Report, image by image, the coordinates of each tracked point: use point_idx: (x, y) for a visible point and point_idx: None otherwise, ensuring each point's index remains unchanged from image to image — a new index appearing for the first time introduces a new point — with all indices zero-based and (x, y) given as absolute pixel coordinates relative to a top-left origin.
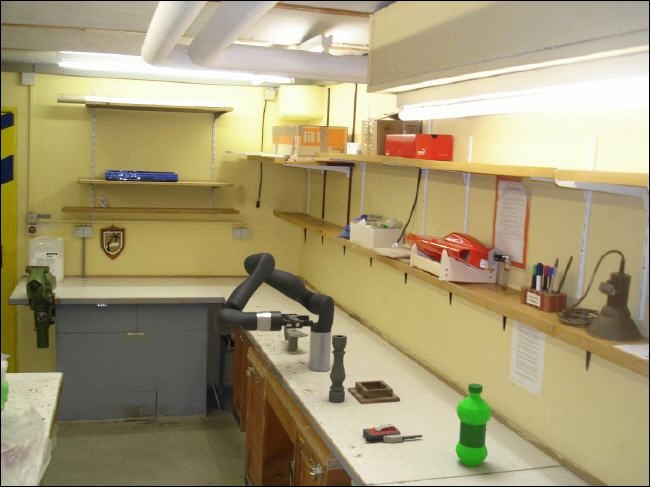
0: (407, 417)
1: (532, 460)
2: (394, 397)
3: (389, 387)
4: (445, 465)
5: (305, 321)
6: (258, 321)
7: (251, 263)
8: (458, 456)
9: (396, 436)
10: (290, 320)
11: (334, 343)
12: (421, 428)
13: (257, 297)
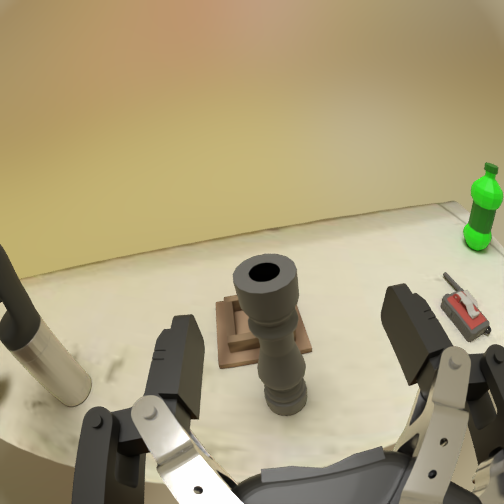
0: (369, 288)
1: (440, 213)
2: None
3: None
4: (492, 262)
5: (434, 336)
6: None
7: None
8: (486, 246)
9: (470, 295)
10: (456, 490)
11: (289, 306)
12: (408, 275)
13: None
